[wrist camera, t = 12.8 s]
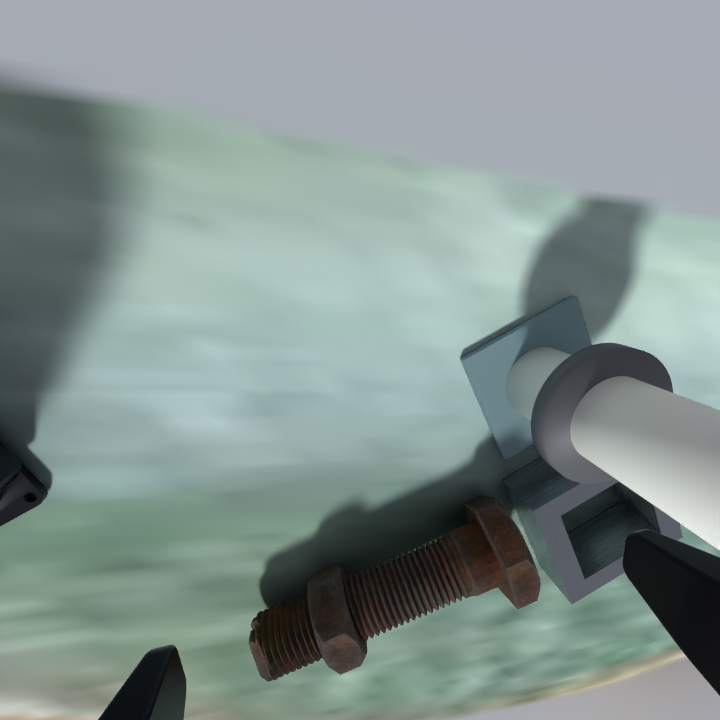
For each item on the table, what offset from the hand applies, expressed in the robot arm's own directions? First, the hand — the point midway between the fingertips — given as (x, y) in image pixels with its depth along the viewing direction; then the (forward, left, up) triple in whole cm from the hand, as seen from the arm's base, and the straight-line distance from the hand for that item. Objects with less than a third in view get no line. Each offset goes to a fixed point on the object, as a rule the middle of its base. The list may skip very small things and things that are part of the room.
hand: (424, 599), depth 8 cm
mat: (+10, -6, -13) cm, 18 cm away
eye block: (+10, -15, -13) cm, 22 cm away
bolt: (-3, -12, -13) cm, 18 cm away
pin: (+10, -6, -13) cm, 17 cm away
